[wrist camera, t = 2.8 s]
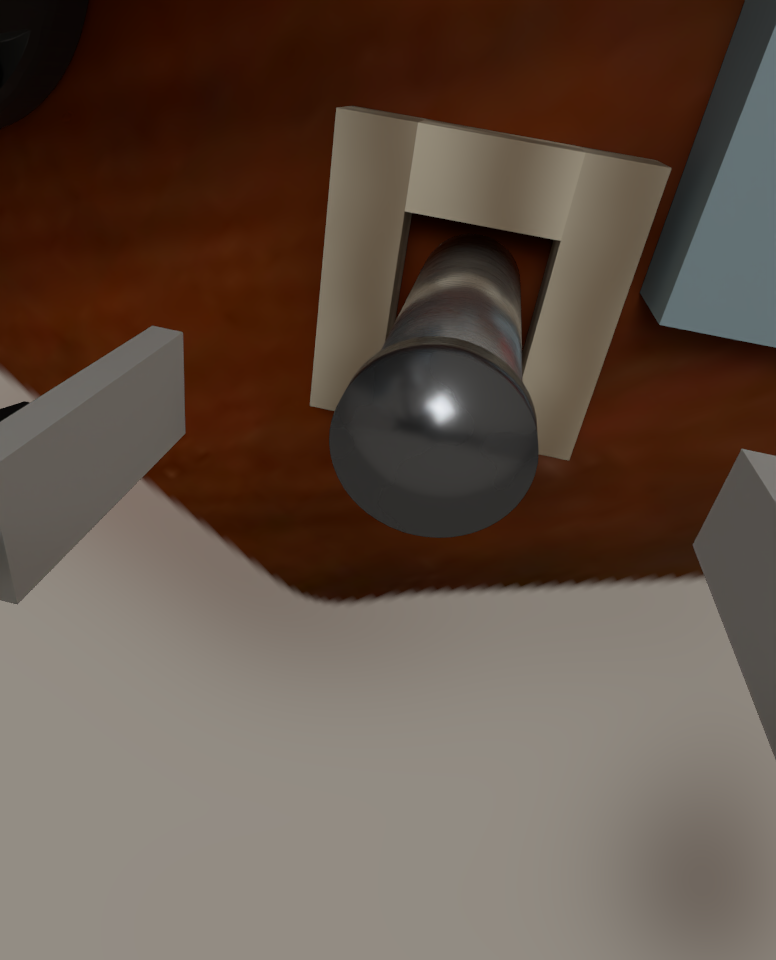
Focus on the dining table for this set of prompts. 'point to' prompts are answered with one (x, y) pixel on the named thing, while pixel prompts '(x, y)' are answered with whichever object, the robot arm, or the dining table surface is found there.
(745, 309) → the socket
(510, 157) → the beige square frame
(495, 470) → the pin
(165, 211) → the dining table surface
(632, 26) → the dining table surface
